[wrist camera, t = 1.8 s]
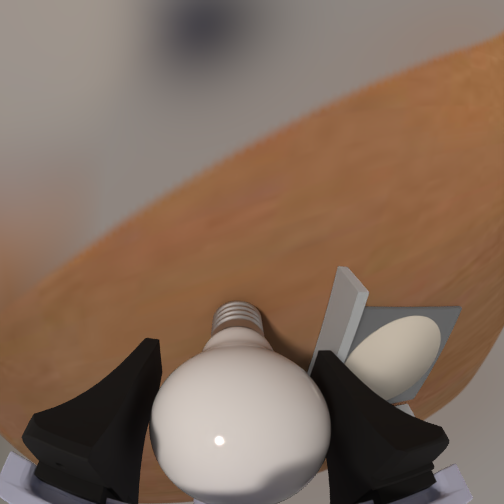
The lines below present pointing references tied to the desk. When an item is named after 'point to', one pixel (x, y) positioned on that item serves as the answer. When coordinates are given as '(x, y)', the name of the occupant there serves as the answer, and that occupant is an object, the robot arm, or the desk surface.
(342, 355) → the acrylic fence
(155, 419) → the lightbulb
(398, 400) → the mat
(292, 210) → the desk surface
